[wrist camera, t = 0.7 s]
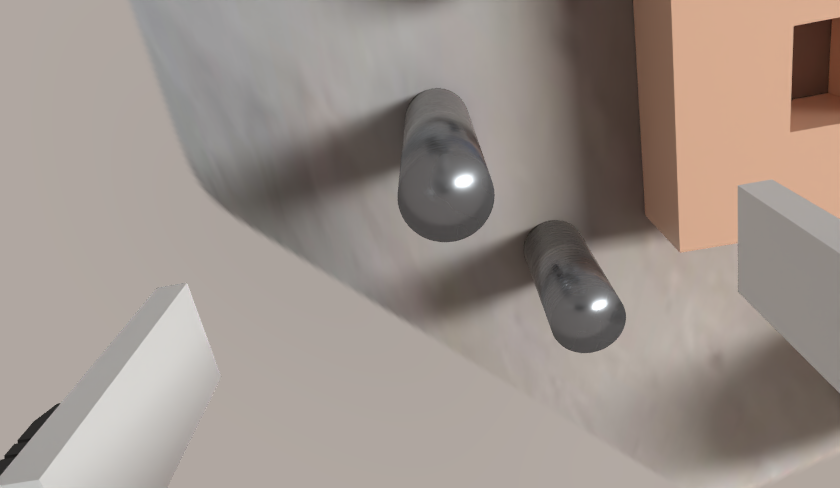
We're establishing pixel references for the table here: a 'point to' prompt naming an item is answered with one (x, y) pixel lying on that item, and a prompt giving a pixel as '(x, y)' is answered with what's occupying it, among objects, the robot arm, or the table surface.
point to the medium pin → (573, 288)
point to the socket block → (730, 112)
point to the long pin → (442, 169)
